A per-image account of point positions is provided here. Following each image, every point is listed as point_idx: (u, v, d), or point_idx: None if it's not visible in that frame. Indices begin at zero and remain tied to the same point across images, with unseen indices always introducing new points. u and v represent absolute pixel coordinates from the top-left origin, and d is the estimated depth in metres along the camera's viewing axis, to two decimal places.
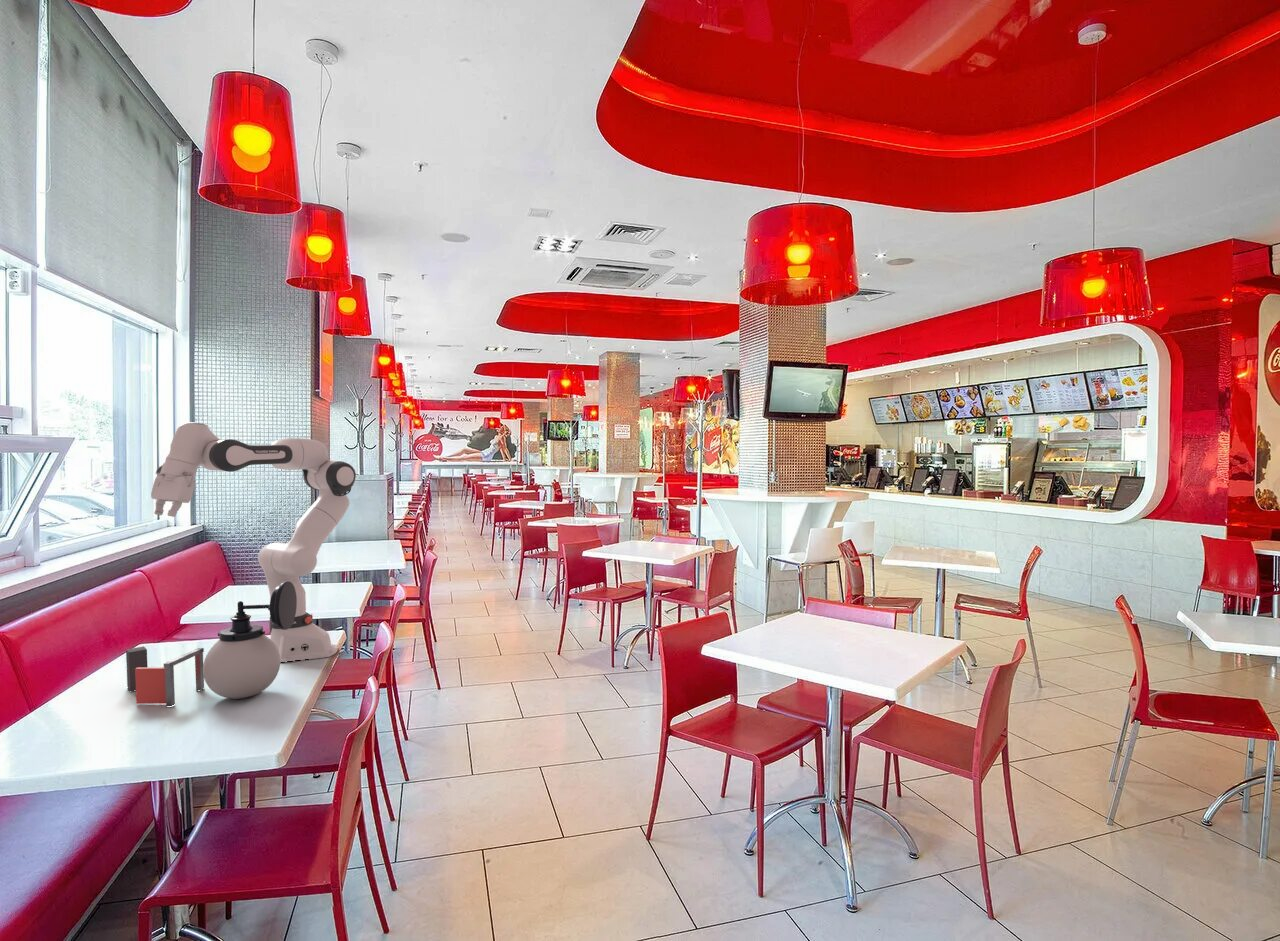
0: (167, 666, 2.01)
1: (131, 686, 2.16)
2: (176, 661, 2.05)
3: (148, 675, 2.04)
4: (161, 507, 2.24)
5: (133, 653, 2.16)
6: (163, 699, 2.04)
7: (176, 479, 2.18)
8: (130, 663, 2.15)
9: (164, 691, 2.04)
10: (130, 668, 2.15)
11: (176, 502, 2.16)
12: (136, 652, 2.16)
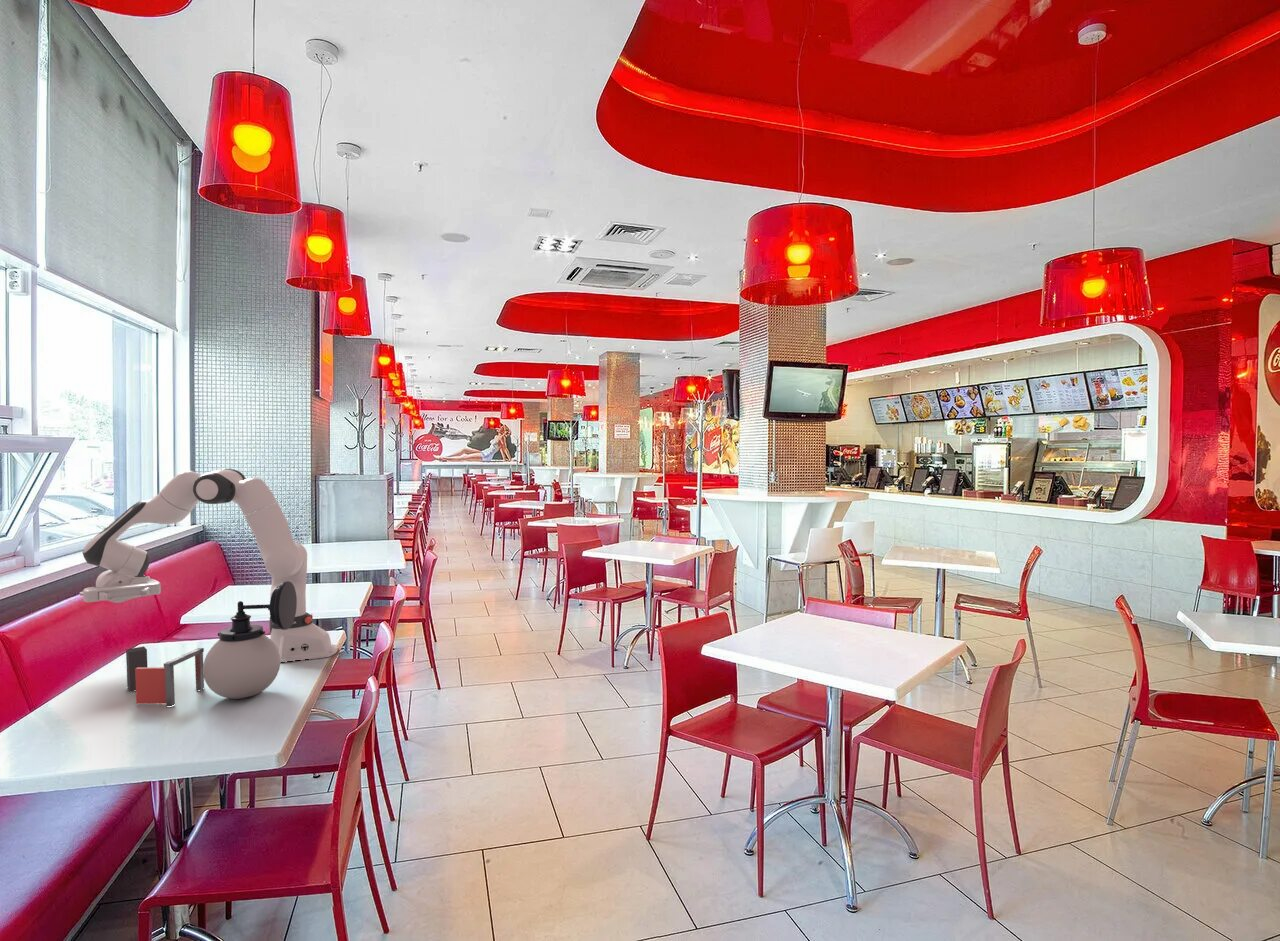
0: (167, 666, 2.01)
1: (131, 686, 2.16)
2: (176, 661, 2.05)
3: (148, 675, 2.04)
4: None
5: (133, 653, 2.16)
6: (163, 699, 2.04)
7: None
8: (130, 663, 2.15)
9: (164, 691, 2.04)
10: (130, 668, 2.15)
11: (99, 597, 2.24)
12: (136, 652, 2.16)
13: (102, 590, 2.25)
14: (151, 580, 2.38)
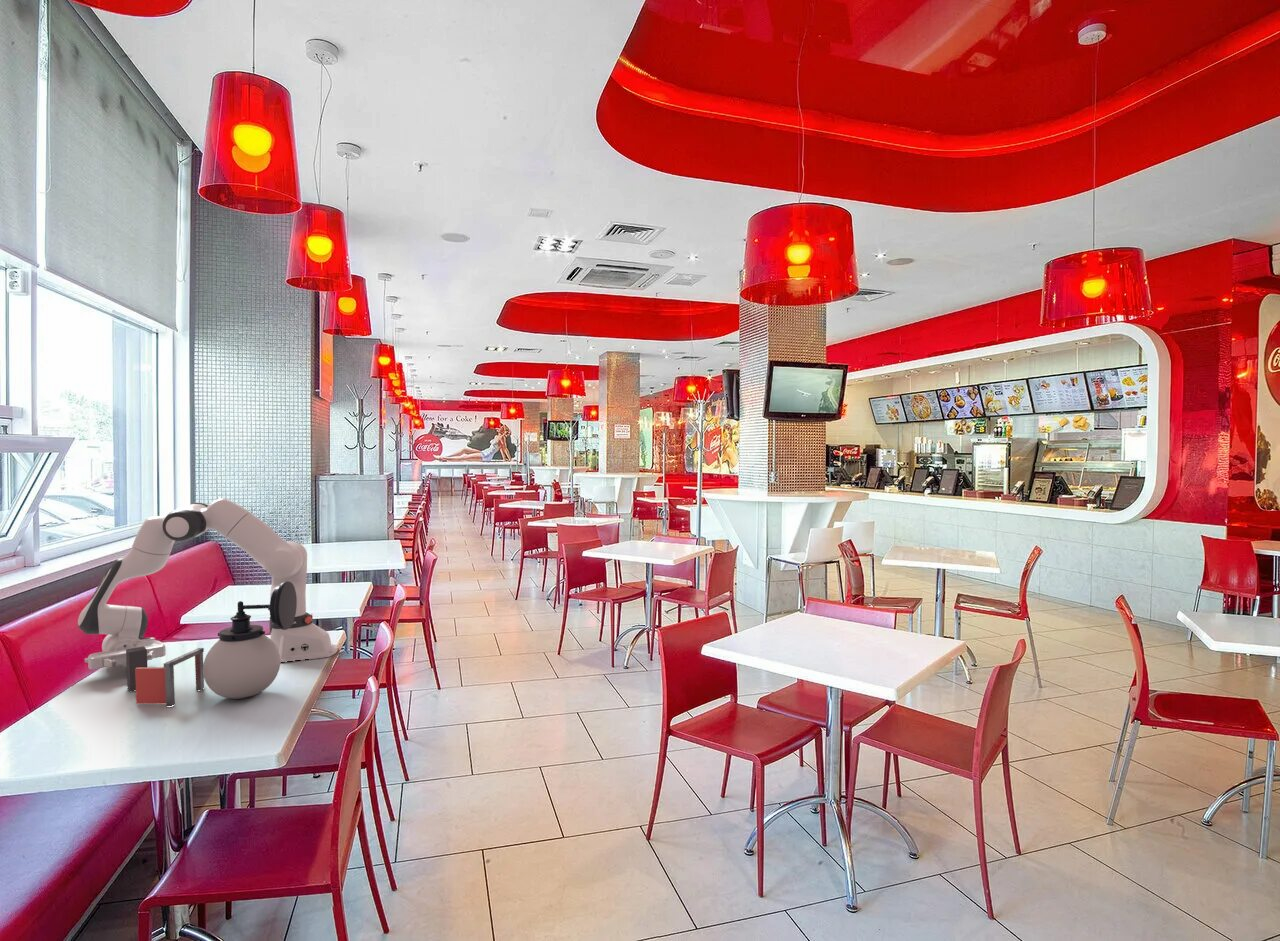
0: (167, 666, 2.01)
1: (131, 686, 2.16)
2: (176, 661, 2.05)
3: (148, 675, 2.04)
4: None
5: (133, 653, 2.16)
6: (163, 699, 2.04)
7: None
8: (130, 663, 2.15)
9: (164, 691, 2.04)
10: (130, 668, 2.15)
11: (103, 664, 2.24)
12: (136, 652, 2.16)
13: (106, 656, 2.25)
14: (156, 642, 2.38)
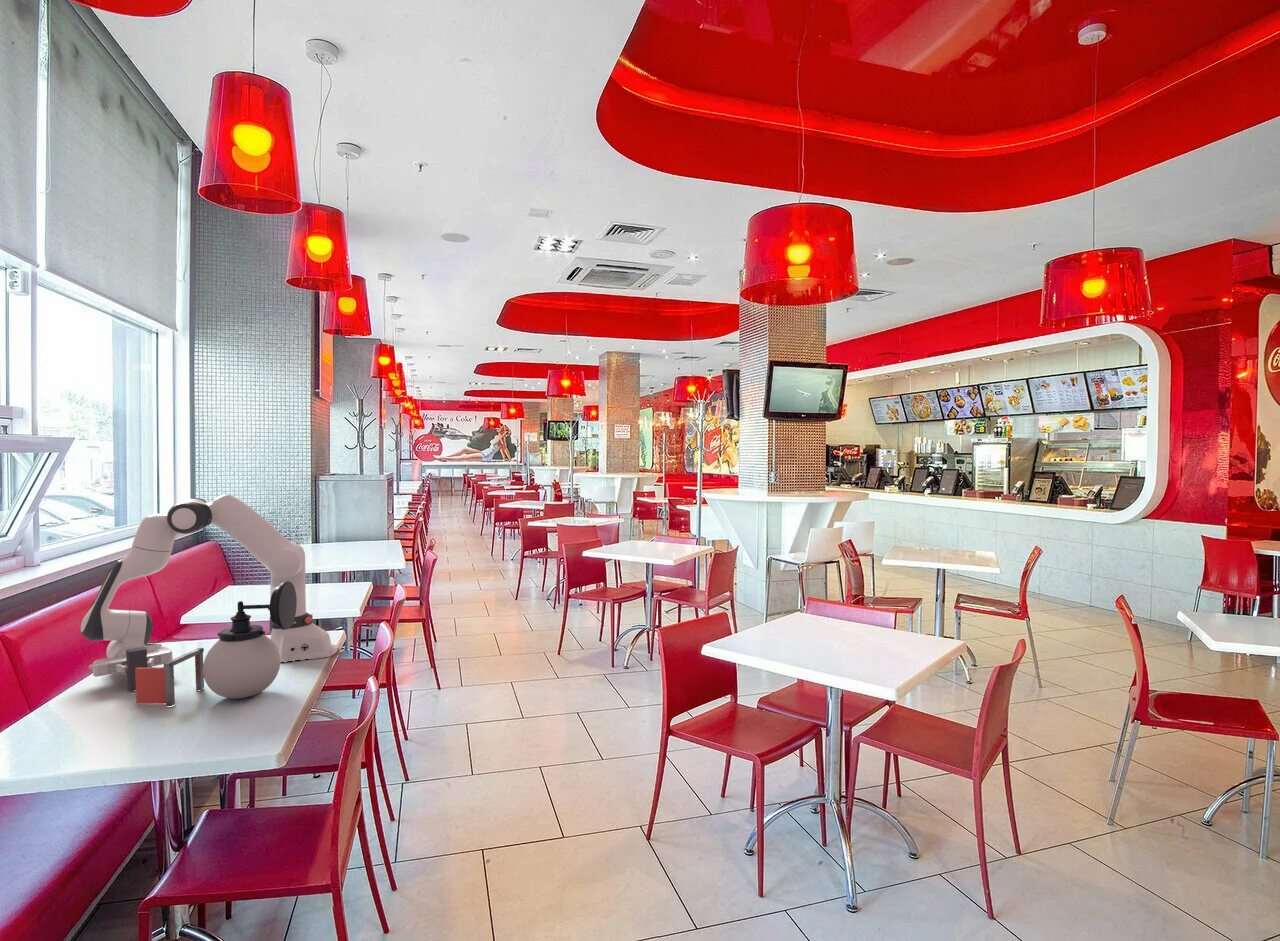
0: (167, 666, 2.01)
1: (131, 686, 2.16)
2: (176, 661, 2.05)
3: (148, 675, 2.04)
4: None
5: (133, 653, 2.16)
6: (163, 699, 2.04)
7: None
8: (130, 663, 2.15)
9: (164, 691, 2.04)
10: (130, 668, 2.15)
11: (116, 669, 2.17)
12: (136, 652, 2.16)
13: (112, 663, 2.17)
14: (162, 648, 2.30)
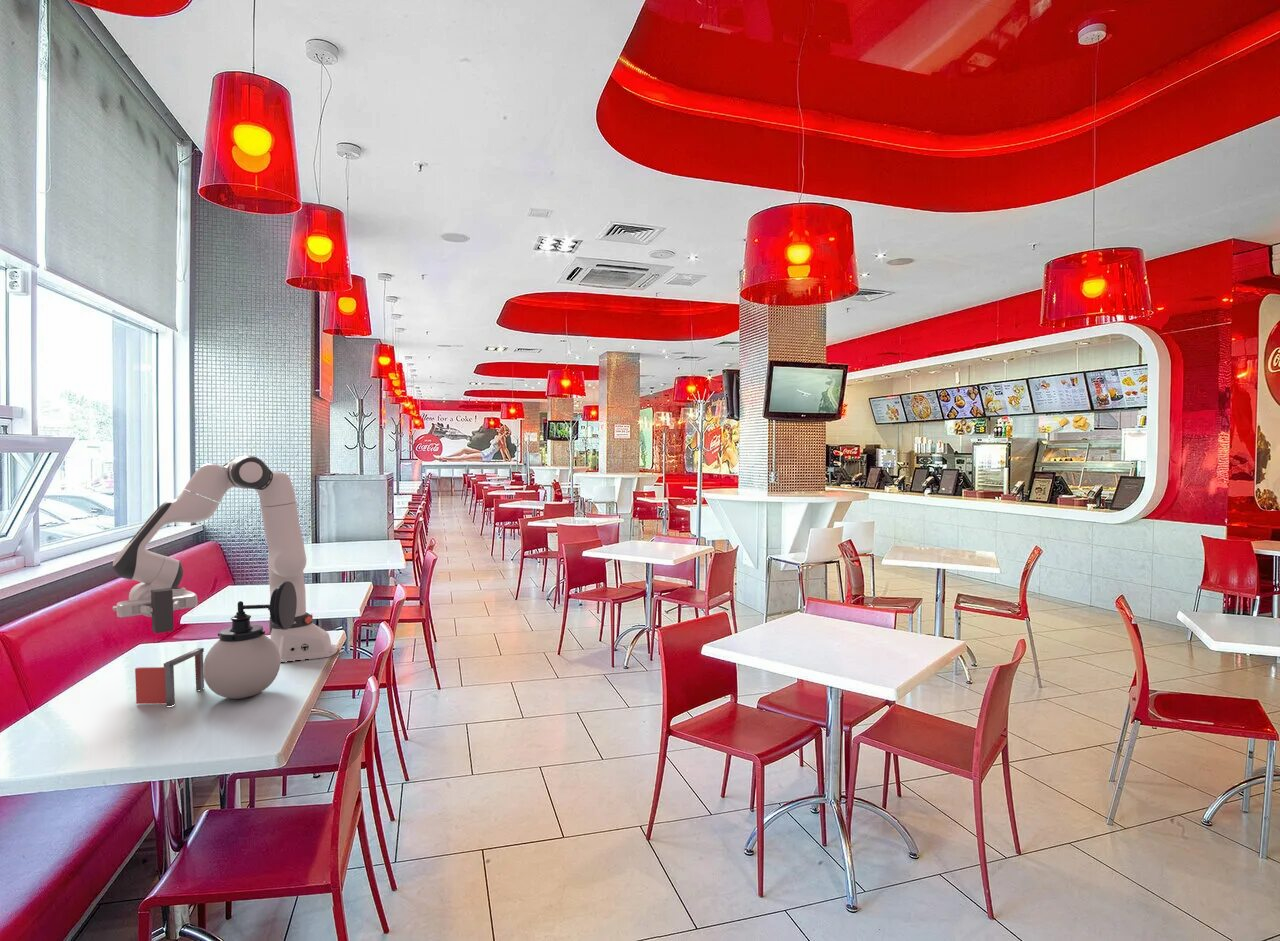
0: (167, 666, 2.01)
1: (156, 627, 2.09)
2: (176, 661, 2.05)
3: (148, 675, 2.04)
4: None
5: (158, 593, 2.09)
6: (163, 699, 2.04)
7: None
8: (155, 603, 2.08)
9: (164, 691, 2.04)
10: (155, 608, 2.08)
11: (140, 610, 2.11)
12: (161, 592, 2.09)
13: (136, 604, 2.10)
14: (187, 592, 2.23)
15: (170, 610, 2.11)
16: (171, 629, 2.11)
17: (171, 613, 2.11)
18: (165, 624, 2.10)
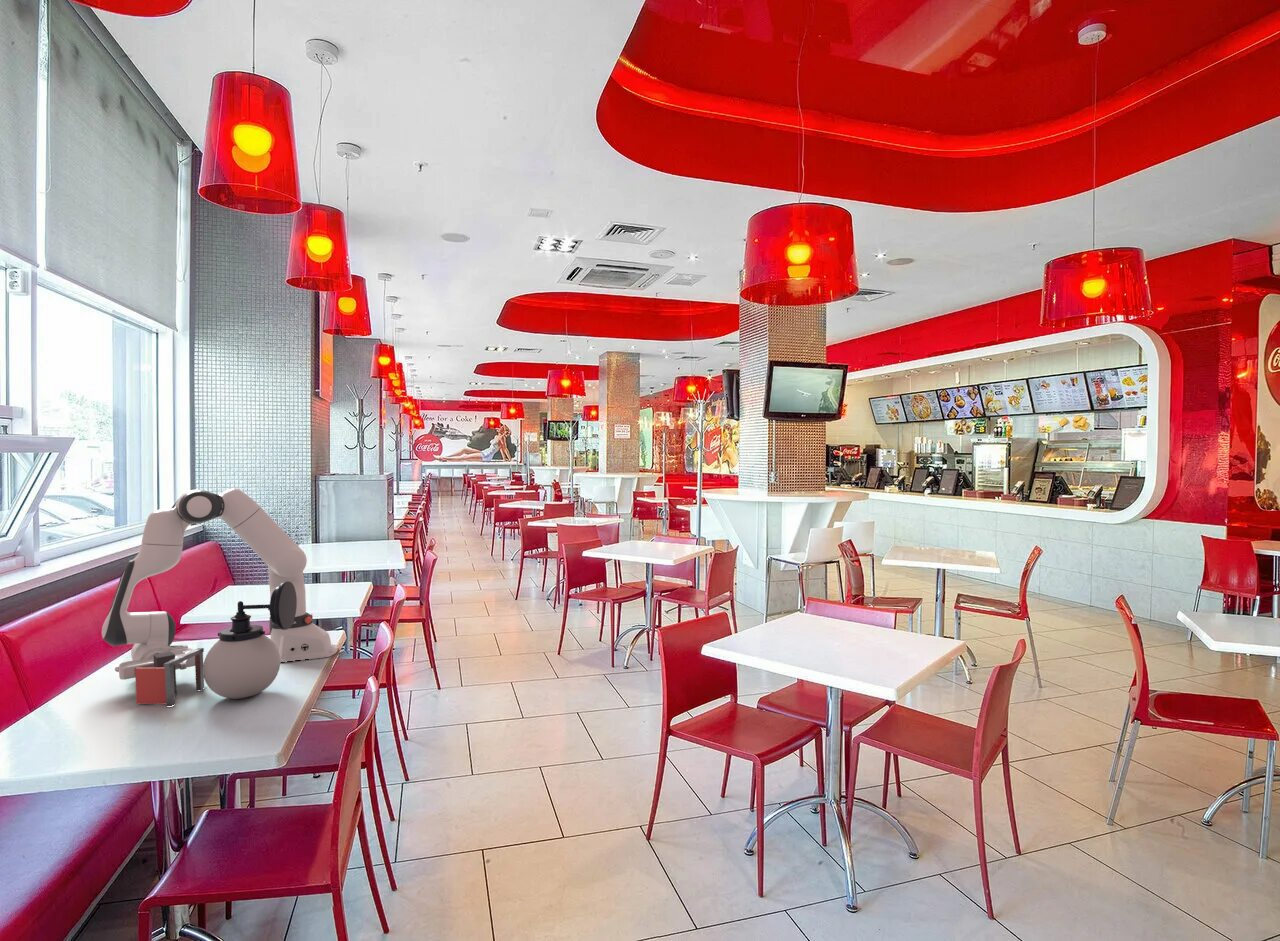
0: (167, 666, 2.01)
1: None
2: (176, 661, 2.05)
3: (148, 675, 2.04)
4: None
5: (161, 659, 2.10)
6: (163, 699, 2.04)
7: None
8: None
9: (164, 691, 2.04)
10: None
11: None
12: (164, 657, 2.10)
13: (139, 666, 2.11)
14: (189, 650, 2.24)
15: None
16: None
17: (174, 678, 2.12)
18: None
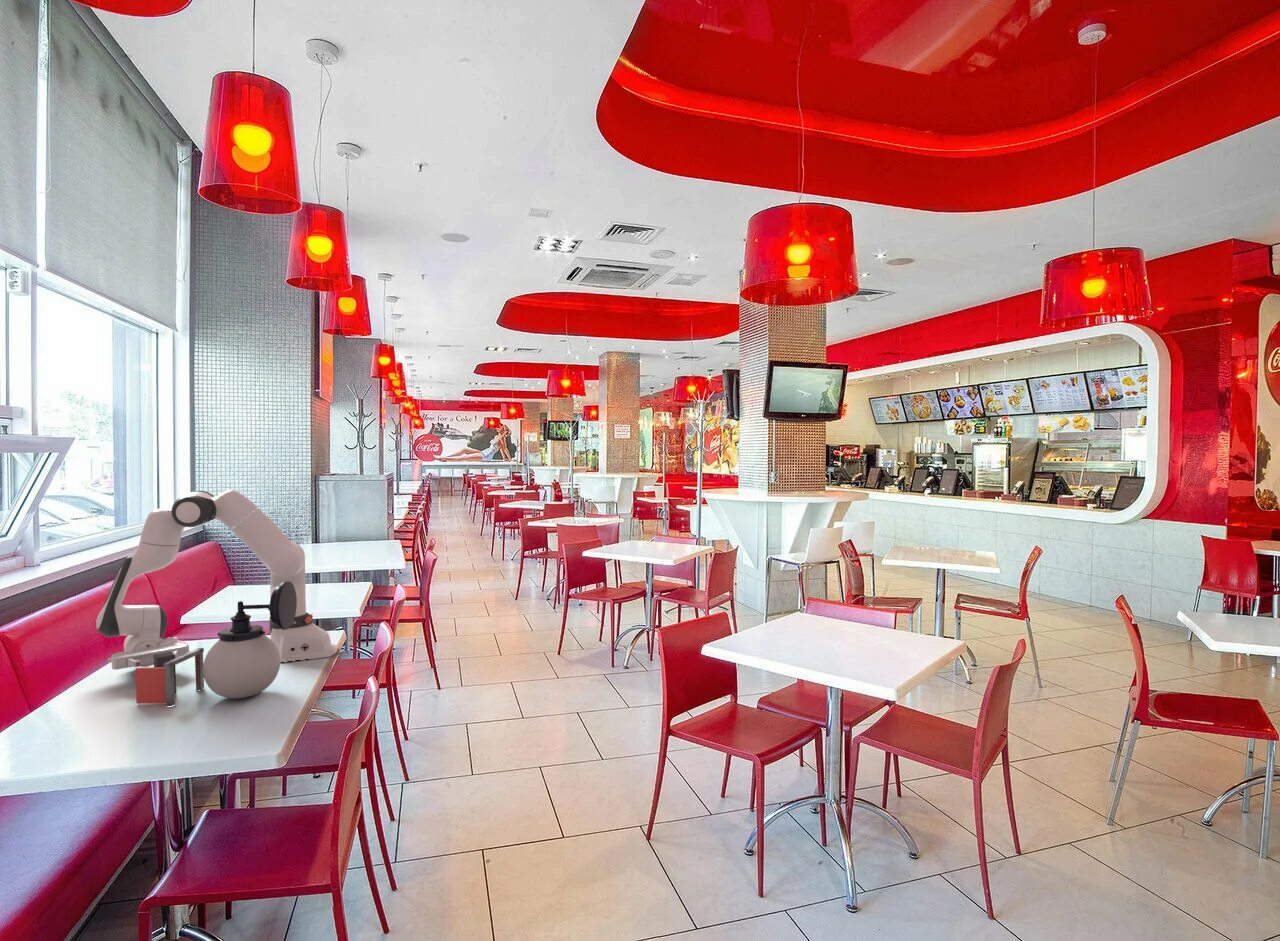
0: (167, 666, 2.01)
1: None
2: (176, 661, 2.05)
3: (148, 675, 2.04)
4: None
5: (161, 659, 2.10)
6: (163, 699, 2.04)
7: None
8: None
9: (164, 691, 2.04)
10: None
11: (127, 664, 2.19)
12: (164, 657, 2.10)
13: (130, 656, 2.20)
14: (179, 642, 2.33)
15: None
16: None
17: (174, 678, 2.12)
18: None
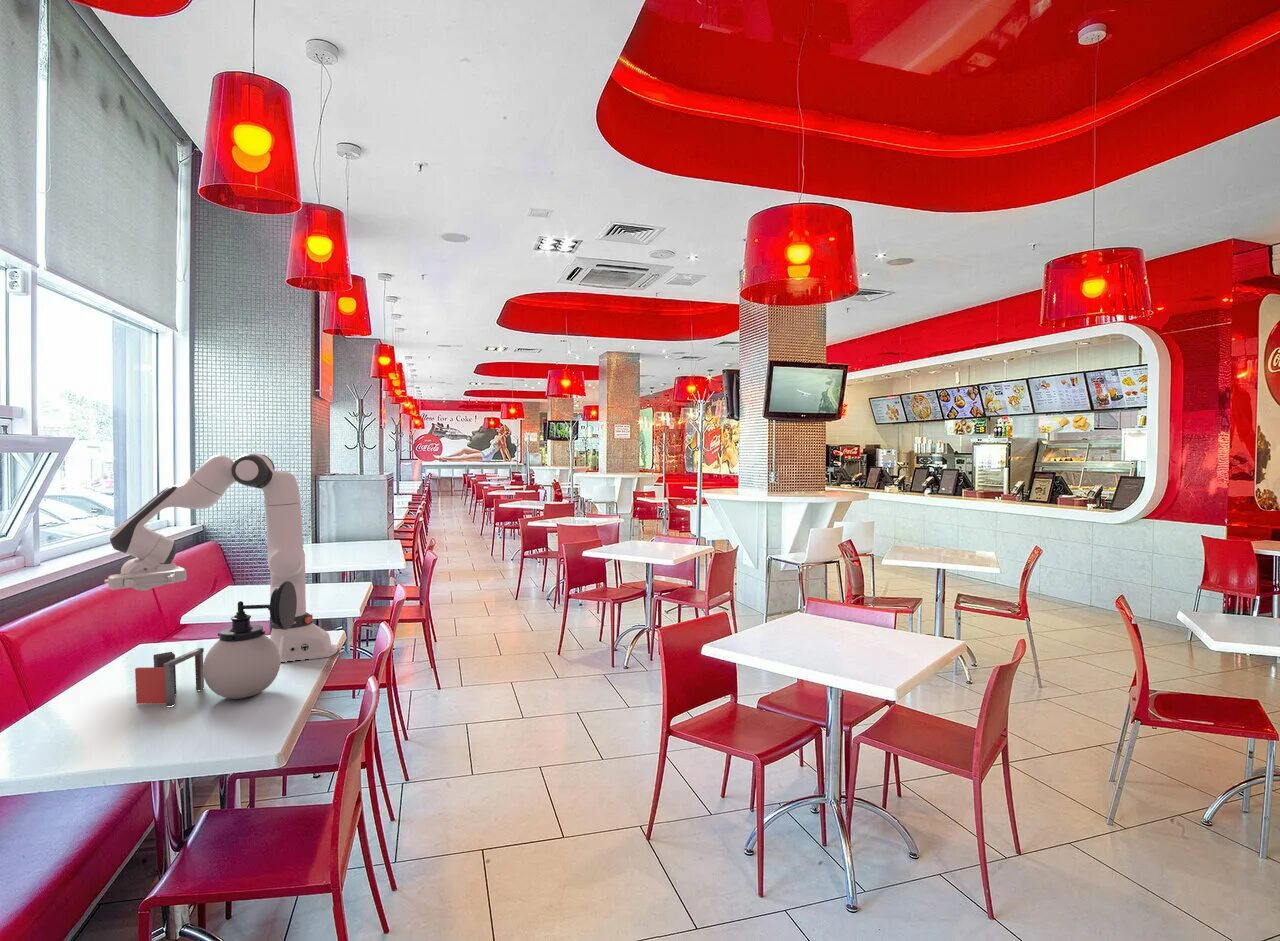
0: (167, 666, 2.01)
1: None
2: (176, 661, 2.05)
3: (148, 675, 2.04)
4: None
5: (161, 659, 2.10)
6: (163, 699, 2.04)
7: None
8: None
9: (164, 691, 2.04)
10: None
11: (124, 584, 2.19)
12: (164, 657, 2.10)
13: (127, 577, 2.20)
14: (176, 567, 2.33)
15: None
16: None
17: (174, 678, 2.12)
18: None
